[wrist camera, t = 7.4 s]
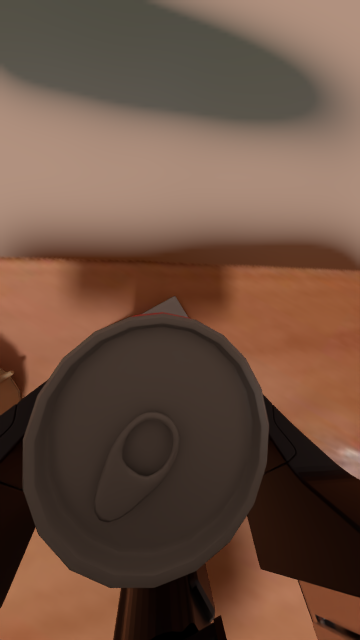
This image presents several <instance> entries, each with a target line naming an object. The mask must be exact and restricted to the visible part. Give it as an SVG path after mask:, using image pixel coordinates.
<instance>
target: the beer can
mask: <svg viewBox="0 0 360 640" xmlns="http://www.w3.org/2000/svg"><path fill="white" fill-rule="evenodd" d="M268 434H269V422H268V417H267V413H266V408H265V403H264V398H263V394H262V389H261V387H260V385H259V383H258V381H257V379H256V377H255V375H254V373H253V371H252V370H251V368H250V366H249V364H248V362H247V360H246V358H245V357H244V356H243V355H242V354H241V353H240V352H239V351H238V350H237V349H236V348H235V347H234V346H233V345H232V344H231V343H230V342H229V341H228V340H227V338H226V337H225V336H224V335H222V334H220V333H218V332H217V331H215V330H213V329H211V328H209V327H208V326H206V325H204V324H202V323H200V322H199V321H197V320H194V319H191V318H189V317H184V316H179V315H174V314H169V313H164V312H160V313H151V314H141V315H134V316H132V317H128V318H126V319H124V320H121V321H119V322H117V323H114V324H112V325H110V326H107V327H105V328H103V329H100V330H98V331H96V332H94V333H93V334H92V335H90V336H89V337H88V338H87V339H86V340H84V341H83V342H82V343H81V344H79V345H78V346H77V347H76V348H75V349H73V350H72V351H71V352H70V353H69V354H67V355H66V356H65V357H64V358H63V359H62V360H61V362H60V363H59V365H58V366H57V368H56V369H55V370H54V372H53V373H52V375H51V376H50V378H49V379H48V381H47V382H46V384H45V385H44V386H43V388H42V389H41V391H40V392H39V394H38V395H37V398H36V402H35V405H34V408H33V411H32V414H31V417H30V420H29V423H28V426H27V429H26V432H25V435H24V438H23V476H22V489H23V492H24V495H25V497H26V500H27V503H28V506H29V509H30V512H31V515H32V518H33V521H34V524H35V526H36V529H37V532H38V534H39V536H40V537H41V538H42V539H43V540H44V541H45V542H46V544H47V545H48V546H49V547H50V548H51V549H52V550H53V552H54V553H55V554H56V555H57V556H58V557H59V558H60V559H61V561H62V562H63V563H64V564H65V565H66V566H67V567H68V569H69V570H71V571H73V572H76V573H78V574H80V575H82V576H85V577H87V578H89V579H91V580H94V581H96V582H98V583H100V584H102V585H105V586H107V587H109V588H155V587H158V586H160V585H163V584H165V583H167V582H170V581H172V580H175V579H177V578H180V577H182V576H185V575H187V574H190V573H192V572H195V571H197V570H198V569H199V568H200V567H201V566H202V565H204V564H205V563H206V562H207V561H208V560H209V559H210V558H212V557H213V556H214V555H215V554H216V553H217V552H219V551H220V550H221V549H222V548H223V547H224V546H226V545H227V544H228V543H229V542H230V541H231V539H232V538H233V536H234V535H235V533H236V531H237V530H238V528H239V527H240V525H241V524H242V522H243V521H244V519H245V517H246V516H247V514H248V513H249V511H250V510H251V508H252V507H253V505H254V503H255V499H256V496H257V493H258V490H259V487H260V484H261V481H262V477H263V474H264V471H265V468H266V465H267V453H268Z"/></svg>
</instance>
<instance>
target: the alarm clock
mask: <svg viewBox="0 0 360 640" xmlns="http://www.w3.org/2000/svg"><path fill="white" fill-rule="evenodd" d="M13 374H14V371H12V370H11V371H8V372H6V371H4V370H3V369H1V368H0V415H1V414H3V413H4V412H5V411H7V410H8V409H9V408H11V407H12V406H13V405H15V404H18V402H19V401H20V400H21V396H20V391H19V388H18V387H17V385H16V383H15V382H14V380H13V379H12V377H11V376H12V375H13Z"/></svg>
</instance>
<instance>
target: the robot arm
mask: <svg viewBox="0 0 360 640" xmlns="http://www.w3.org/2000/svg"><path fill="white" fill-rule="evenodd" d="M47 381H48V380H47ZM47 381H46V382H47ZM46 382H44V383H43V384H42V385H40V386H39V387H38V388H36V389H35V390H34V391H32V392H31V393H30V394H28V395H27V396H26V397H24V398H23V399H22V400H20V401H19V402H18V404H15V405H13V406H12V407H11V408H9V409H8V410H7V411H5V412H4V413H3V414H1V415H0V608H1V607H2V604H3V602H4V600H5V598H6V596H7V593H8V591H9V589H10V586H11V584H12V581H13V579H14V577H15V574H16V572H17V570H18V567H19V565H20V563H21V560H22V558H23V555H24V553H25V551H26V548H27V546H28V544H29V541H30V539H31V537H32V534H33V532H34V529H35V527H36V526H35V524H34V521H33V518H32V515H31V512H30V509H29V506H28V503H27V500H26V497H25V495H24V492H23V489H22V476H23V438H24V435H25V432H26V429H27V426H28V423H29V420H30V417H31V414H32V411H33V408H34V405H35V402H36V398H37V395H38V394H39V392H40V391H41V389H42V388H43V386H44V385H45V384H46ZM263 398H264V403H265V408H266V413H267V417H268V422H269V434H268V453H267V465H266V468H265V471H264V474H263V477H262V481H261V484H260V487H259V490H258V493H257V496H256V499H255V503H254V505H253V507H252V508H251V510H250V511H249V513H248V514H247V517H248V521H249V525H250V529H251V533H252V537H253V541H254V545H255V549H256V553H257V557H258V561H259V565H260V568H261V569H262V570H266V571H269V572H273V573H276V574H279V575H283V576H286V577H290V578H293V579H297V580H298V582H299V585H300V588H301V591H302V594H303V596H304V599H305V602H306V605H307V608H308V611H309V613H310V616H311V619H312V622H313V627H314V630H315V633H316V636H317V639H318V640H360V480H359V479H357V478H356V477H354V476H352V475H351V474H349V473H348V472H347V471H345V470H344V469H342V468H341V467H340V466H339V465H337V464H336V463H335V462H334V461H333V460H331V459H330V458H329V457H328V456H327V455H326V454H325V453H324V452H323V451H322V450H320V449H319V448H318V447H317V446H316V445H315V444H314V443H313V442H312V441H310V440H309V439H308V438H307V437H306V436H305V435H304V434H303V433H302V432H301V431H300V430H298V429H297V428H296V427H295V426H294V425H293V424H292V423H291V422H290V421H289V420H288V419H287V418H286V417H285V416H284V415H283V414H282V413H281V412H280V411H279V410H278V409H277V408H276V407H275V406H274V405H272V403H271V402H270V401H269V400H268V399H267V398H266V397H265V396H264V395H263ZM214 617H215V607H214V602H213V598H212V593H211V588H210V584H209V579H208V574H207V570H206V565H205V564H204V565H202V566H201V567H200V568H199V569H198V570H197V571H195V572H192V573H190V574H187V575H185V576H182V577H180V578H177V579H175V580H172V581H170V582H167V583H165V584H163V585H160V586H158V587H155V588H121V592H120V598H119V605H118V612H117V618H116V625H115V631H114V638H113V640H227V638H226V634H225V630H224V626H223V622H222V618H221V615H220V616H218V617H216V618H215V619H214ZM213 619H214V622H213V623H211V621H212V620H213Z"/></svg>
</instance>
